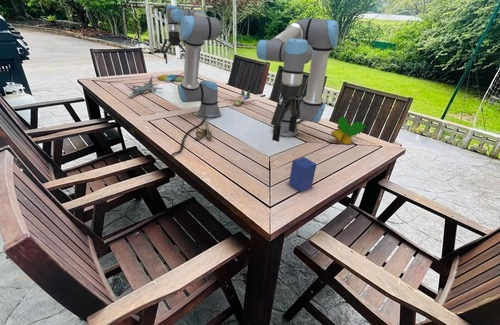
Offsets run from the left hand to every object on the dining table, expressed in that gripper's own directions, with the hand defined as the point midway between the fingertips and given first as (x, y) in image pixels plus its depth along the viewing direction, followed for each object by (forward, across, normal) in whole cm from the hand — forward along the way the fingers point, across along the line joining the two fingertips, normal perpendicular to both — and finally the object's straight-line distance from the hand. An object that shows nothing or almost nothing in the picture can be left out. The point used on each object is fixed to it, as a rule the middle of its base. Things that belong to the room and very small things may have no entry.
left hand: (176, 63), depth 192 cm
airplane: (+29, +24, -36) cm, 53 cm away
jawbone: (+31, -4, +68) cm, 75 cm away
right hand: (+11, -26, +121) cm, 124 cm away
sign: (+28, -6, -88) cm, 93 cm away
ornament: (+32, -86, +94) cm, 132 cm away
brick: (+32, -32, +129) cm, 137 cm away
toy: (+30, -51, +4) cm, 59 cm away
